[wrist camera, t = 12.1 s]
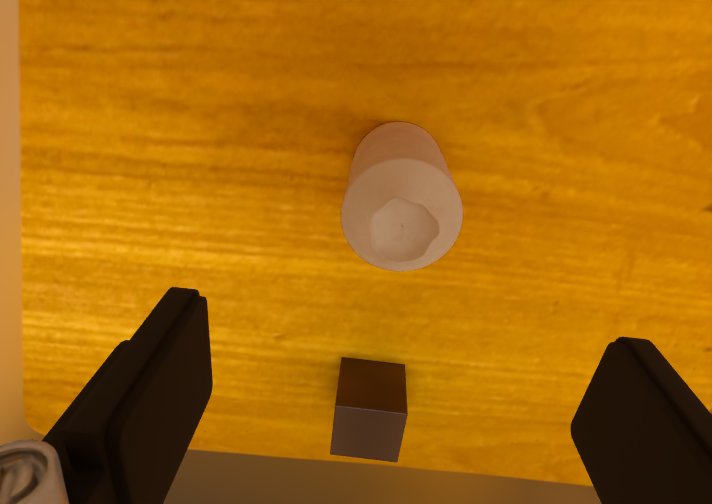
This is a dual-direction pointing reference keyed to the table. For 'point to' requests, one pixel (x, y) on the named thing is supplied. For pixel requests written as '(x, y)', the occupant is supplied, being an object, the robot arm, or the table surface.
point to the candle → (400, 199)
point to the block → (369, 410)
